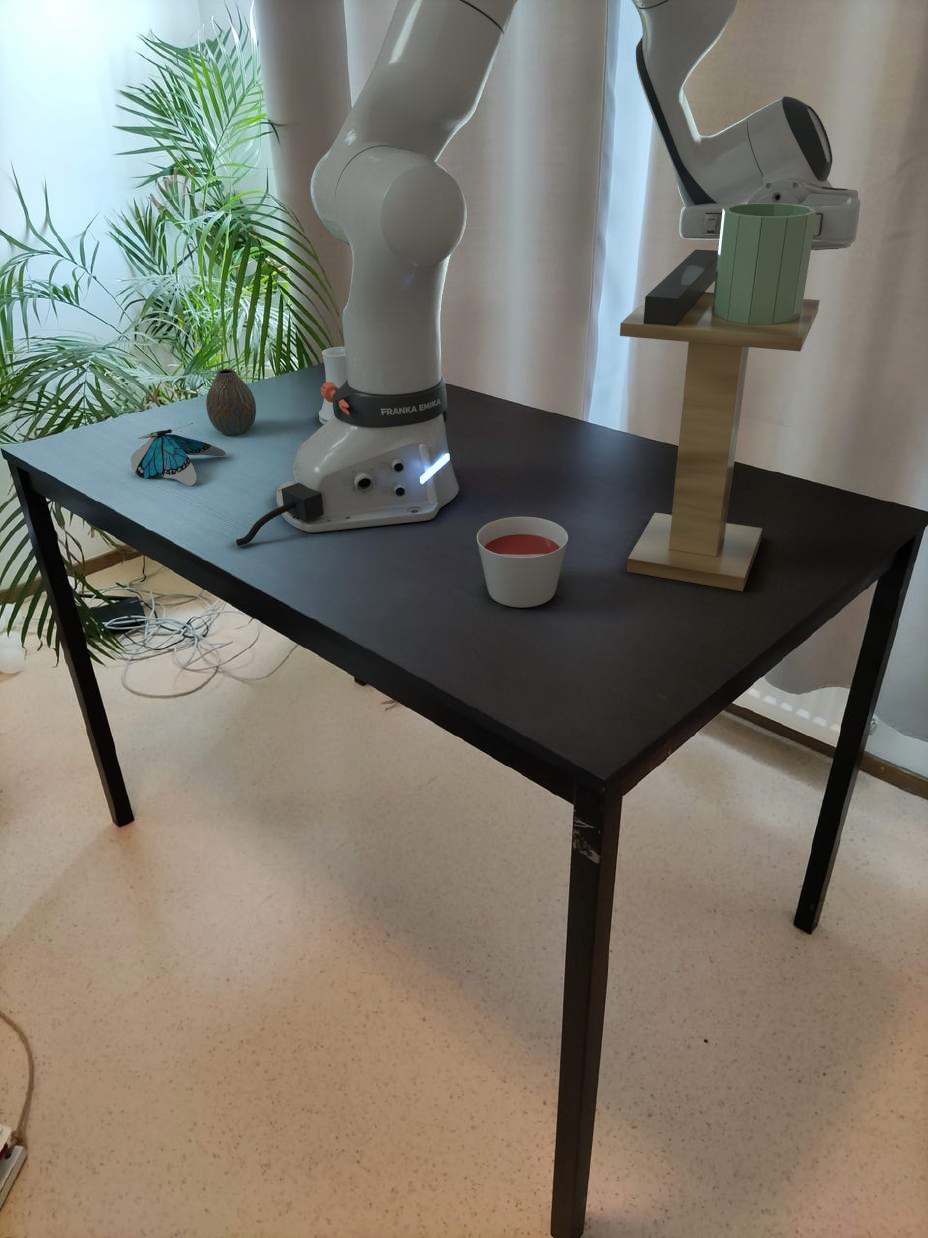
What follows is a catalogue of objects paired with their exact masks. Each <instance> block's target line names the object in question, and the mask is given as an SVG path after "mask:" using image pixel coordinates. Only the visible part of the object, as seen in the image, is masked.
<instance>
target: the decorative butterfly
mask: <svg viewBox="0 0 928 1238" xmlns="http://www.w3.org/2000/svg"><path fill="white" fill-rule="evenodd" d="M192 424H194V422H191V423H189V424H188V426H189V425H192ZM184 427H185V425H184V426H182V428H184ZM179 428H180V429H181V426H180V427H178V429H179ZM176 429H177V427H174V429H171V428H168V429H165V430H157V431H154V432H150V433H147V434H145V435H141V436H140V437H137V440H140V439H141V440H143V439H148V440H147V441H146V442H145V444H143V445H142V446H141V447H140V448H138V449H137V450H135V451H133V453H132V454H131V456H130V463H131V468H132V470H133V472H134V473H135V475H137V476H138V477H139V478H142V479H156V478H157V477H159V476H160V475H161V476H162V477H163V478H165V479H174V480H176V481H178V482H180V483H182V484H184V485H185V486H189V487H190V486H193V485H195V483H196V481H197V472H196V470H195V468H194V465H193V464H192V461H191V459H190V458H189V456H208V457H209V456H211V457H224V456H226V454H227V452H226V451H225V450H224V449H221V448H219V447H218V446H215V445H212V444H210V443H207V442H204V441H201V440H198V439H194V438H193V439H192V438H189V437H185V436H181V435H178V434H172V433H173V432H174V430H176ZM180 432H181V433H183V431H180Z"/></svg>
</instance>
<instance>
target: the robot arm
mask: <svg viewBox="0 0 928 1238" xmlns="http://www.w3.org/2000/svg"><path fill="white" fill-rule="evenodd" d="M631 1H632V3H633V5H634V7H635V8H636V11H637V13H638V15H639V18H640V19H639V20H640V23H641V29H642V36H641V38H640V40H639V41H638V43H637V45H636V46H635V64H636V70H637V75H638V79H639V81H640V86H641V88H642V91H643V94H644V97H645V100H646V102H647V103H646V104H647V106H648V108H649V110H650V114H651V116H652V119H653V121H654V125H655V126H656V128H657V132H658V135H659V136H660V139H661V142H662V144H663V147H664V149H665V151H666V155H667V158H668V160H669V162H670V165H671V167H672V171H673V174H674V177H675V182H676V184H677V189H678V192H679V195H680V198H681V200H682V203H683V205H684V206H683V207H682V208H681V209H680V215H679V226H678V229H679V237H680V238H682V239H684V240H714V241H715V240H718V241H719V240H720V231H721V222H722V212H723V208H725V207H728V206H731V205H735V204H746V203H785V204H797V205H802V206H807V207H812V208H814V209H815V210H816V211H817V214H816V220H815V227H814V233H813V240H812V246H811V251H823V250H839V249H848V248H850V247H852V243H854V242H855V241H856V239H857V232H858V225H859V219H860V209H861V200H860V199H859V191H858V190H857V189H848V188H841V187H839V188H838V187H833V185H832V183H830V181H829V179H828V178H829V176H830V173H831V170H832V166H833V152H832V147H831V143H830V139H829V136H828V133H827V131H826V128H825V126H824V124H823V121H822V120H821V118H820V116H819V114H818V113H817V111H815V110H814V109H813V107H812V106H810V105H809V104H807V103H806V102H804V101H802V100H800V99H798V98H796V97H793V96H787V95H786V96H785V95H784V96H783V97H780V98H779V99H777V100H775V101H773V102H771V103H769V104H768V105H766V106H764V107H762V108H760V109H758V110H755V111H754V112H752V113H750V114H749V115H748V116H746V117H745V118H742V119H741V120H739V121H738V122H737V121H736V123H734V124H732V125H730V126H728V127H727V128H725V129H723V130H721V131H719V132H717V133H715V134H712V135H701V134H700V133H699V131H698V128H697V125H696V122H695V119H694V116H693V113H692V110H691V108H690V105H689V102H688V100H687V96H686V93H685V91H684V85H685V84H686V81H687V80H688V78H689V77H690V76H691V74H692V72H693V71H694V70H695V68H696V67H697V66H698V64H699V63H700V62H701V61H702V59H703V58H704V57H705V56H706V55H707V54H708V53H709V52H710V51H711V49H712V48H713V47H714V46H715V45H716V43H718V41H719V40H720V38H721V37H722V35H723V34H724V32H725V31H726V29H727V27H728V26H729V23H730V21H731V19H732V17H733V15H734V13H735V10H736V7H737V5H738V0H631ZM517 2H518V0H397V3H396V5H395V9H394V11H393V13H392V17H391V20H390V23H389V25H388V28H387V31H386V34H385V36H384V39H383V41H382V45H381V48H380V51H379V53H378V56H377V58H376V61H375V63H374V65H373V68H372V70H371V72H370V74H369V76H368V78H367V80H366V82H365V84H364V86H363V88H362V90H361V92H360V94H359V95H358V97H357V99H356V101H355V102H354V104H353V105H352V107H351V109H350V111H349V113H348V115H347V117H346V118H345V120H344V122H343V124H342V126H341V128H340V130H339V132H338V134H337V136H336V138H335V140H334V142H333V143H332V145H331V147H330V148H329V149H328V150H327V152H326V153H325V154H324V155H323V156H322V157H321V158H320V160H319V161H318V162H317V164H316V165H315V167H314V170H313V172H312V175H311V180H310V199H311V202H312V206H313V208H314V210H315V211H314V212H315V213H316V215H317V216H318V218H319V220H320V221H321V223H322V225H324V227H325V228H326V230H327V231H328V232H329V233H330V235H332V236H333V237H334V238H335V239H337V240H338V241H339V242H342V243H343V244H346V245H348V246H350V249H351V255H352V256H351V257H352V264H351V265H352V266H351V267H352V268H351V277H350V286H349V294H348V299H347V303H346V305H345V306H344V308H343V311H342V314H341V323H342V324H341V325H342V333H343V335H342V336H343V345H344V346H343V347H345V358H346V369H347V380H346V382H345V383H344V384H343V385H342V386H341V387H340V388H339V389H338V388H337V387H336V385H334V383H332V382H326V381H325V382H324V383H323V384H322V386H321V387H320V393H321V394H320V395H321V396H322V397H323V399H324V398H325V399H326V400H327V401H328V402H331V403H332V402H333V411H334V416H332V417H331V418H330V419H329V420H328V421H327V422H326V423H325V424H322V426H321V427H320V428H318V429H317V430H316V431H315V432H314V433H313V434H311V435H310V436H309V437H308V438H307V439H306V440H305V441H304V442H302V443H301V444H300V445H299V446H298V448H296V451H295V454H294V456H293V457H294V458H293V463H292V474H291V475H292V477H291V480H289V481H285V482H283V483H282V484H280V486H279V487H278V488H277V491H276V494H275V495H276V496H275V498H276V500H275V501H276V507H277V508H275V509H272V510H271V511H269V512H267V513H266V514H265V515H263V516H261V517H260V518H259V519H258V520H257V521H256V522H255V523H254V524H253V525H252V527H251V528H250V530H249V531H248V533H247V534H246V535H245V536H243V537H241V538H236V539H235V543H236V546H238V547H240V546H241V547H242V546H245V545H247V544H249V543H250V542H252V540H253V539H254V538H255V536H257V534H258V532H259V531H260V530H261V528H262V527H264V525H266V524H267V523H268V522H270V521H271V520H273V519H275V518H276V517H278V516H281V517H282V518H283V519H284V520H285V521H286V522H287V523H288V524H289V525H291V526H292V527H294V528H296V529H297V530H300V531H304V532H306V533H321V532H322V533H323V532H330V531H331V532H332V531H341V530H350V529H359V528H369V527H370V528H371V527H377V526H378V527H379V526H387V525H397V524H407V523H415V522H425V521H431V520H433V519H435V517H436V516H437V515H438V513H439V511H440V509H442V507H444V506H445V505H447V504H448V503H450V502H452V501H453V500H454V499H455V498H456V496H457V495H458V493H459V491H460V485H459V483H458V480H457V477H456V475H455V471H454V467H453V463H452V460H451V455H450V450H449V443H448V438H447V429H446V423H447V421H448V419H447V418H448V415H447V413H448V393H447V387H446V379H445V377H444V376H443V375H442V348H441V347H442V345H441V344H442V343H441V308H442V299H443V292H444V287H445V281H446V278H447V272H448V266H449V262H450V258H451V255H452V254H453V253H454V251H455V250H457V247H458V246H459V244H460V243H461V241H462V239H463V237H464V233H465V230H466V226H467V220H468V219H467V217H468V211H467V201H466V199H465V195H464V193H463V190H462V188H461V187H460V185H459V183H458V182H457V180H456V179H455V178H454V177H453V176H452V175H451V174H450V173H449V171H447V170H446V169H445V168H444V167H443V166H441V165H440V164H439V163H438V162H437V161H438V159H439V158H440V156H441V155H442V153H443V151H444V150H445V149H446V147H447V145H448V144H449V142H450V141H451V140H452V139H453V137H454V136H455V135H456V134H457V132H458V131H459V130H460V129H461V128H462V127H463V126H464V125H465V124H467V122H469V120H470V119H471V118H472V116H473V115H474V113H475V112H476V109H477V107H478V104H479V102H480V99H481V97H482V94H483V92H484V89H485V87H486V84H487V82H488V79H489V76H490V74H491V71H492V68H493V66H494V64H495V60H496V58H497V56H498V53H499V50H500V48H501V45H502V42H503V39H504V37H505V34H506V33H507V32H506V31H507V29H508V26H509V24H510V21H511V18H512V15H513V11H514V9H515V6H516V4H517Z"/></svg>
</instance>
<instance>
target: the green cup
mask: <svg viewBox="0 0 928 1238" xmlns="http://www.w3.org/2000/svg"><path fill="white" fill-rule="evenodd" d="M816 214H817V211H816V210H815V209H814V208H812V207H807V206H802V205H797V204H785V203H746V204H735V205H731V206H728V207H725V208H723V212H722V222H721V231H720V240H718V242H719V244H718V250H717V251H718V259H717V269H716V278H715V281H714V288H713V293H714V297H713V306H712V311H713V314H714V316H716V317H719V318H721V319H724V320H726V321H731V322H738V323H744V324H779V323H786V322H791V321H794V320H796V319H797V318H799V317H800V316H801V311H802V305H803V299H805V291H806V284H807V278H808V272H809V264H810V258H811V252H812V250H811V246H812V240H813V233H814V227H815V220H816Z"/></svg>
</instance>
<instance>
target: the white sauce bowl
mask: <svg viewBox="0 0 928 1238" xmlns="http://www.w3.org/2000/svg"><path fill="white" fill-rule="evenodd" d="M568 541H569V536H568V532H567V530H565V528H564V527H562V526H561V525H560V524H558V523H556V522H554V521H552V520H549V519H544V518H541V517H540V518H539V517H534V516H511V517H503V518H499V519H497V520H493V521H491V522H488V523H486V524H484V525H483V526H482V527H481V528H480V529H479V530H478V531H477V534H476V544H477V548H478V551H479V552H478V553H479V557H480V563H481V566H482V571H483V575H484V581H485V585H486V589H487V592H488V595H489V597H490V598H491V599H492V600H493V601H495V602H497V603H498V604H500V605H503V606H506V607H511V608H522V609H523V608H533V607H537V606H540V605H543V604H545V603H547V602H549V601H550V600H551V599H552V598H553V597H554V596H555V594H556V591H557V588H558V584H559V580H560V577H561V571H562V567H563V563H564V558H565V554H566V550H567V545H568Z"/></svg>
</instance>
